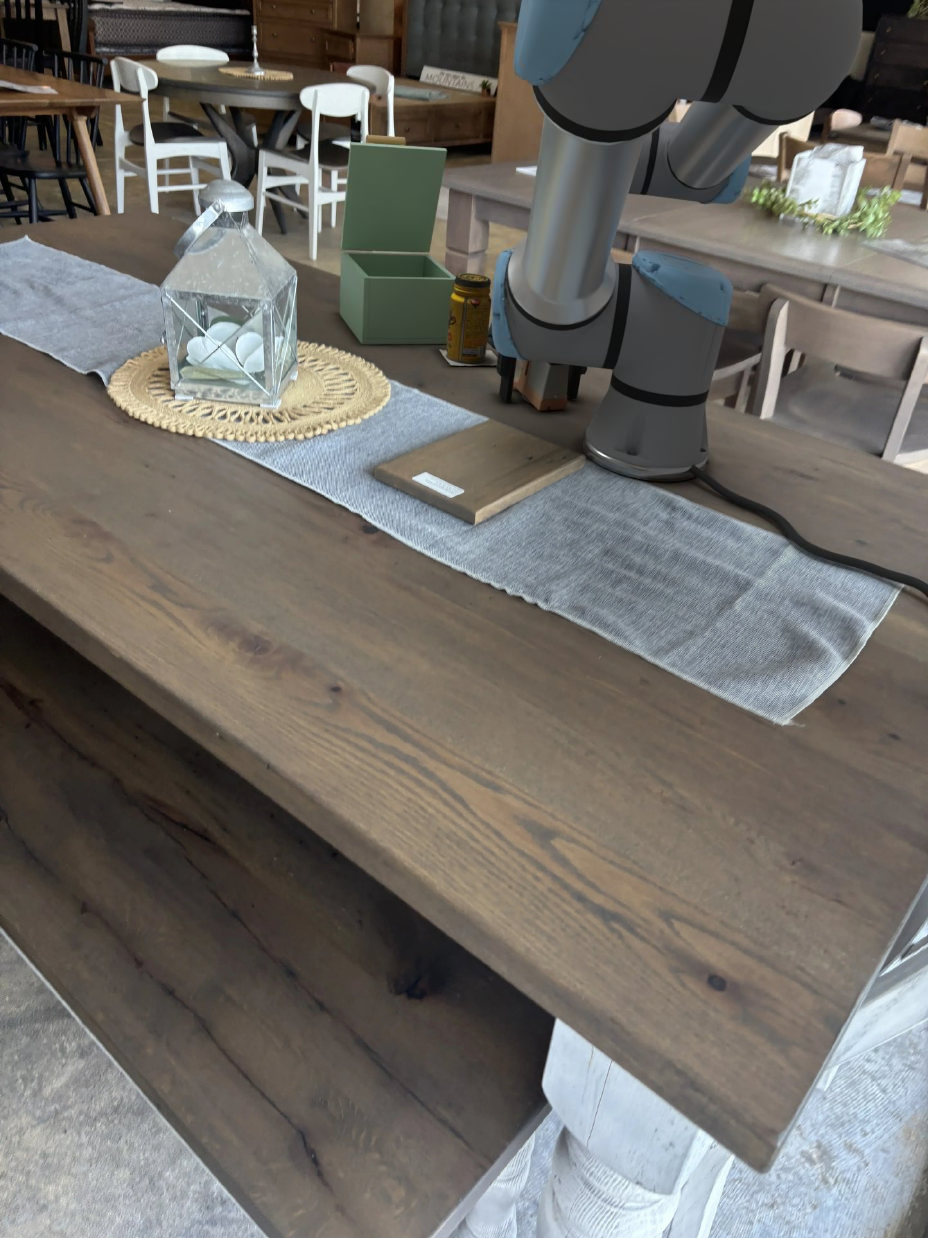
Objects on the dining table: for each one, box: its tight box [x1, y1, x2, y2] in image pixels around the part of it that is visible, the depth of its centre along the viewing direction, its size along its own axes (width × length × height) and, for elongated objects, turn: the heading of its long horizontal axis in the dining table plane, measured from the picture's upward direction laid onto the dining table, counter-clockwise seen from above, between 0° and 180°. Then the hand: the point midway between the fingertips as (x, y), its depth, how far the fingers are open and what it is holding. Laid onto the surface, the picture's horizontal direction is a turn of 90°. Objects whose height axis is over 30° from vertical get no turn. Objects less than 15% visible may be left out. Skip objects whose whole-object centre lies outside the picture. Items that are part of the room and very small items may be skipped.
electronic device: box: [513, 360, 569, 412], centre depth 125 cm, size 4×10×8 cm, turn 24°
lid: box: [340, 134, 448, 254], centre depth 144 cm, size 17×15×9 cm
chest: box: [339, 251, 456, 345], centre depth 145 cm, size 16×15×10 cm
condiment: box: [439, 272, 498, 367], centre depth 135 cm, size 7×8×12 cm
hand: (538, 396), depth 127 cm, fingers open, 9 cm apart
